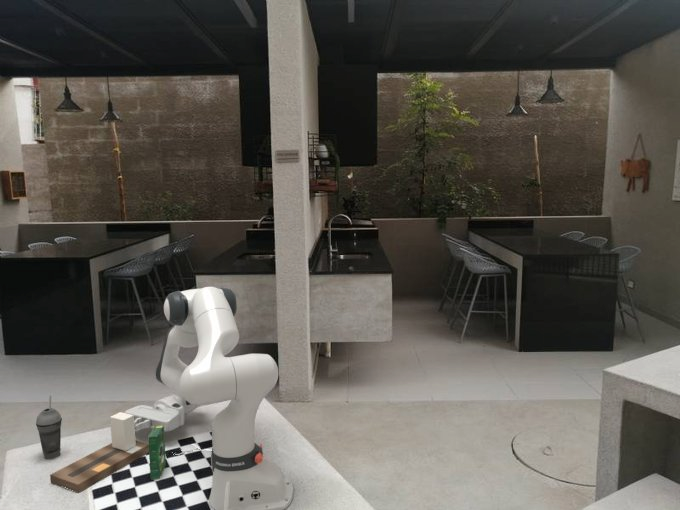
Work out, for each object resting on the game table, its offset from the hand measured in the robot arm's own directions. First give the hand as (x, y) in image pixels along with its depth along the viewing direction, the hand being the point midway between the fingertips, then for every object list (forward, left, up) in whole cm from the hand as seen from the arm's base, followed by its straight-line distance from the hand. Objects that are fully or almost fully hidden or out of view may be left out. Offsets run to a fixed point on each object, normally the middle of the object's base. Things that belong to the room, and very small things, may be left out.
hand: (133, 427), depth 172 cm
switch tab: (+2, +3, -5) cm, 6 cm away
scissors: (-22, +2, -8) cm, 24 cm away
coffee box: (-12, +15, -8) cm, 21 cm away
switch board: (+6, +10, -7) cm, 14 cm away
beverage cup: (+25, +2, -8) cm, 26 cm away
